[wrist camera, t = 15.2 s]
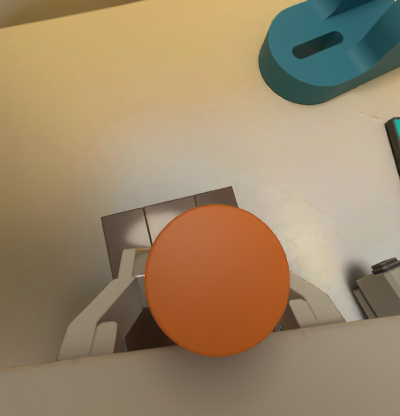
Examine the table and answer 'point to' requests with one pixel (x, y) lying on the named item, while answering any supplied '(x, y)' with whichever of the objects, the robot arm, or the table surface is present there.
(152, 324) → the pen stand
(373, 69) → the camera mount
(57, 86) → the table surface
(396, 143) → the smartphone
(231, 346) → the orange cylinder rod
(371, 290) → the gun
